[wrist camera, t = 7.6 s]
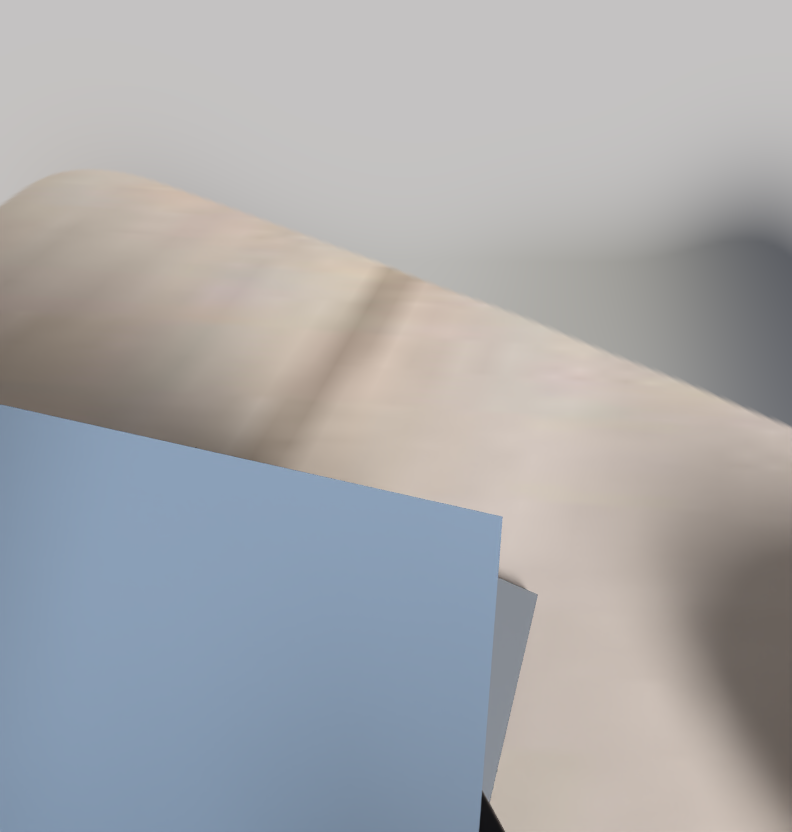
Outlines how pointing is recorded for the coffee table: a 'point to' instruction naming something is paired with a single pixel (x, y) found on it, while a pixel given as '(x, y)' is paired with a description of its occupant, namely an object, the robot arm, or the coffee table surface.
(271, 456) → the coffee table surface
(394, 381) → the coffee table surface
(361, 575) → the tall blue rectangular block
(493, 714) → the flat square base plate
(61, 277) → the coffee table surface
